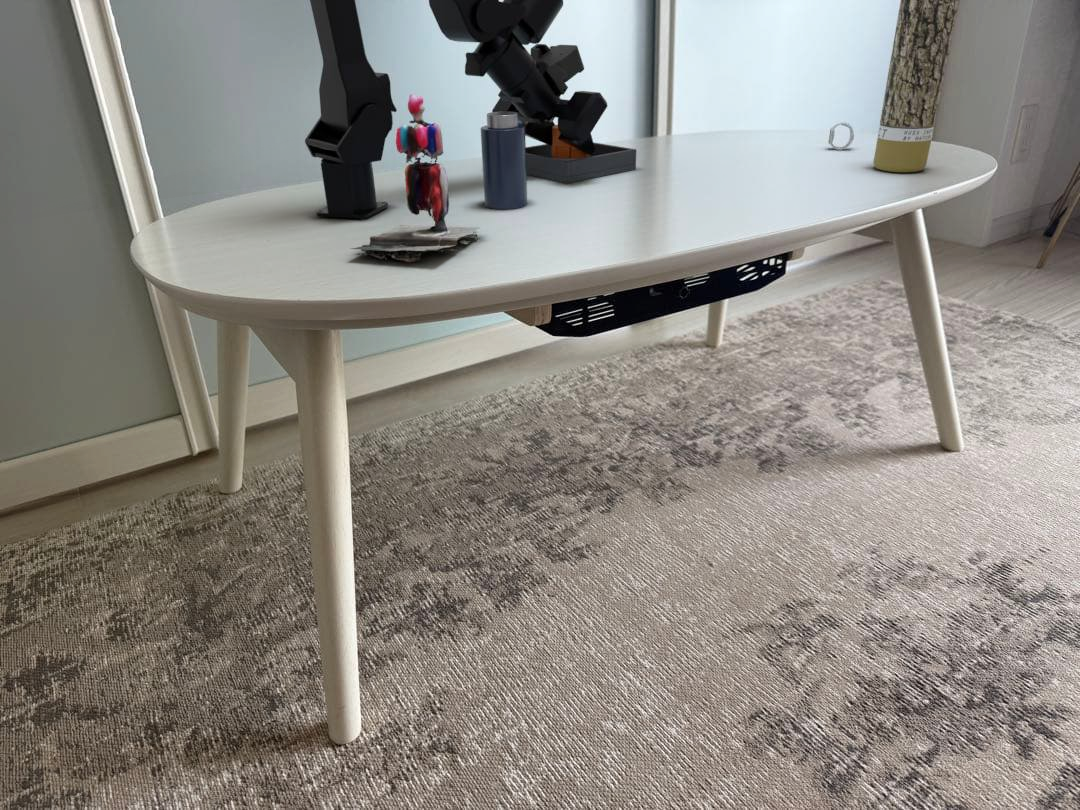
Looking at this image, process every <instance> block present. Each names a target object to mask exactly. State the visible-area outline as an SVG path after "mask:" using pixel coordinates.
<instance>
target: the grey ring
mask: <svg viewBox="0 0 1080 810" xmlns="http://www.w3.org/2000/svg"><path fill="white" fill-rule="evenodd" d="M838 126H842V127H843V126H844V127H847V128H848V129H849V139H848V142H847V143H846V144H845V145H844V146H842V147H839V146H836V145H834V144H833V142H834V138H835V129H836V128H837V127H838ZM854 138H855V132H854V127H853V126H852V125H851V124H850V123H848V122H838V123H836V124H835V125H833V126H832V127H830V129H829V137H828V145H830V146H831V147H832V149H835V150H837V151H842V150H844V149H848V148H849V147H850V145H851V144H852V143H853V141H854Z"/></svg>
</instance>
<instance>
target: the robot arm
mask: <svg viewBox="0 0 1080 810" xmlns="http://www.w3.org/2000/svg"><path fill="white" fill-rule="evenodd" d="M309 2H310V8H311V11H312V16H313V20H314V25H315V30H316V34H317V39H318V43H319V47H320V53H321V56H322V57H321V58H322V69H321V75H320V82H319V87H318V94H319V107H320V116H319V118H318V120H317V121H316V122H315V124H314V126H312V129H311V130H310V132H309V133H308V134H307V137H305V139H304V143H305V145H306V148H307V150H308V151H309V153H310V156H311V157H312V158H319V159H321V160H320V170H321V176H322V183H323V189H324V195H325V202H326V203H325V204H326V207H324V208H322V209H319V210H317V211H316V217H323V218H325V217H326V218H327V217H328V218H345V219H347V218H348V219H367V218H370V217H371V216H373V215H375V214H377V213H379V212H381V211H383V210H384V209H386V208H388V207H389V202H388V201H377V194H376V187H375V186H376V185H375V177H374V176H375V175H374V168H373V163H375V162H380V161H382V159H383V154H384V148H385V144H386V140H387V139H386V138H387V137H388V136H389V133H390V132H391V131H392V130H393V125H394V119H393V118H394V117H393V113H397V108H396V106H395V104H394V102H393V101H394V100H393V98H392V92H391V91H392V89H391V80H390V76H389V73H386V72H385V73H384V72H375V70H374V68H373V67H372V65H371V64H370V62H369V60H368V58H367V55H366V49H365V44H364V38H363V34H362V28H361V23H360V17H359V14H358V8H357V4H356V0H309ZM428 4H429V8H430V10H431V12H432V14H433V17H434V19H435V21H436V23H437V26H438V27H439V30H440V31H441V33H442V34H443V35H444V37H445V38H446V39H448V40H449V41H453V42H457V43H478V45H477V46H476V48H475V49H474V51H472V52H470V51H469V52H466V53H465V64H464V74H465V76H469V77H481V78H482V77H485V75H487V76H488V77H489V78H490V79H491V81H492V82H493V83H494V84H495V85H496V87H498V88H499V90H500V91H499V93H498V94H497V96H498V97H499V99H498V100H497V102H496V103H495V105H494V106H493V108H492V110H491V112H502V111H509V112H516V113H518V124H519V125H523V126H525V137H527V138H530V139H533V140H535V141H538V142H539V143H543V144H548V145H550V146H551V145H552V144H553V143H552V127H553V126H554V125H556V124H555V122H554V120H555V119H557V125H558V130H559V131H560V133H561V134H560V136H559V137H558V139H559V140H561V141H563V142H565V143H567V144H569V145H571V146H573V147H575V148H576V149H578V150H580V151H582V152H584V153H586V154H588V155H592V154H593V152H594V151H595V147H594V143H595V142H594V139H593V136H592V131H594V128H595V127H596V125H597V124H598V122H599V120H600V119H601V117H602V116H603V114H604V113H605V111H606V110H607V108H608V101H607V100H606V98H605V97H604V96H603V95H602V93H601V92H597V91H590V90H589V91H587V90H578V91H574V92H573V94H572V96H571V98H570V99H564V98H561V97H562V95H563V96H564V95H565V93H566V92H567V91H568V88H569V87H568V85H567V82H568V81H569V80H571V79H572V78H574V77H575V76H577V74H580V73H583V72H584V70H585V65H584V62H583V59H582V56H581V54H580V53H581V52H580V50H579V46H578V45H577V44H557V45H550V46H548V45H547V44H545V43H540V42H541V41H542V39H543V38H544V37H545V34H546V33H547V32H548V30H549V29H550V27H551V25H552V24H553V22H554V21H555V19H556V18H557V16H558V15H559V13H560V12H561V11H562V8H563V7H564V0H502V1H500V0H428ZM530 44H533V46H532V47H531V48H530V52H529V51H528V50H527V48H526V47H525V46H528V45H530ZM593 142H594V143H593Z"/></svg>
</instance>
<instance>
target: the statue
mask: <svg viewBox="0 0 1080 810" xmlns="http://www.w3.org/2000/svg"><path fill="white" fill-rule="evenodd" d="M407 110H408V113H410V115H411V116H412V118H413V119H412V120H409V124H414V126H412V125H405V124H401V125H400V126H399V127H398V128H397V129H396V137H395V145H396V150H397V152H398V153H399V154H403V153H404V154H405V155H406V156H405V163H406V164H407V163H409V162H410V163H409V164H408V165H407V166H406V167H405V169H404V177H405V181H404V182H405V192H406V193H405V194H406V205H407V210H409V212H410V213H411V214H412V215H414V216H418V215H419V214H420V211H421V212H422V211H424V212H427V213H428V215H429V217H430V218H431V219H433V222H434V225H431V226H429V225H408V224H401V225H397V226H395V227H394V228H392V229H390V230H388V231H385V232H382V233H380V234H377V235H371V236H370V237H369V244H363V245H361V246H357V247H352V248H351V247H350V250H361V252H363V253H356V255H357V256H358V255H359V256H360V255H362V256H371V257H375V258H377V259H379V260H383V259H384V258H385V260H387V258H386V256H391V258H393V259H395V260H400V261H404V262H406V263H412V262H413V263H414V262H417V261H421V260H420V259H421V255H422V254H423V253H430V252H432V251H434V252H436V251H439V252H442V253H443V250H444V251H445V252H446V251H457V252H458V249H454V248H451V247H456V246H457V245H458V240H459V243H460V244H464V245H468V244H469V243H471V240H461V239H462V238H464V237H466V238H474V239H475V240H476V241H477V240H478V239H477V238H478V235H477V233H478V231H477V230H479V229H481V226H447V223H446V220H445V217H446V216H447V215H448V214H449V207H450V200H449V199H450V197H449V181H448V180H449V179H448V175H447V172H446V169H445V167H444V165H443V164H441V163H437V161H438V157H440V156H442V155H443V154H444V145H443V144H444V143H443V142H444V141H443V134H442V129H441V125H440V124H439V123H436V122H433V123H429V122H426V121H424V117H423V113H425V110H426V107H425V104H424V98H423V96H422V95H419V94H410V95H409V98H408V102H407ZM415 123H416V124H415ZM421 153H422V154H423V155H421V157H422V158H425V156H426V157H428V158H430V162H428V161H424V162H422V161H421V157H418V156H419V154H421ZM413 158H414V160H415V161H414V162H413V160H412V159H413ZM433 160H434V162H433ZM444 248H447V249H444Z"/></svg>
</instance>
